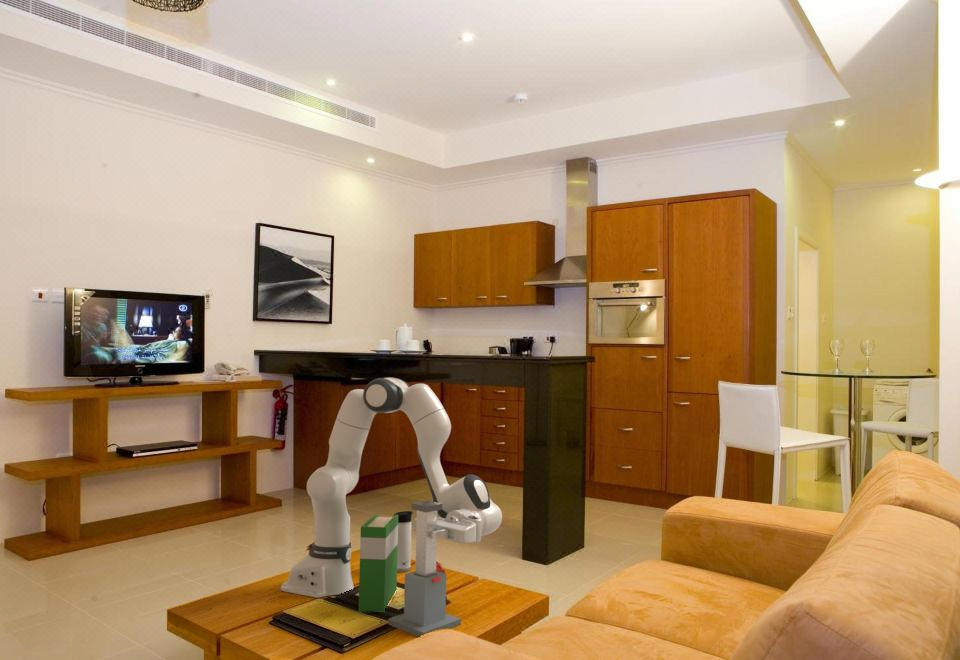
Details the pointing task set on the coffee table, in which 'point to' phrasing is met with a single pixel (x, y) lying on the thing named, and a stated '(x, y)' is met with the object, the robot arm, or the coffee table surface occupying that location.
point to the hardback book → (378, 562)
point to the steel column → (426, 537)
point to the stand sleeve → (424, 605)
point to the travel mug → (404, 541)
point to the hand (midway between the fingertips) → (424, 533)
